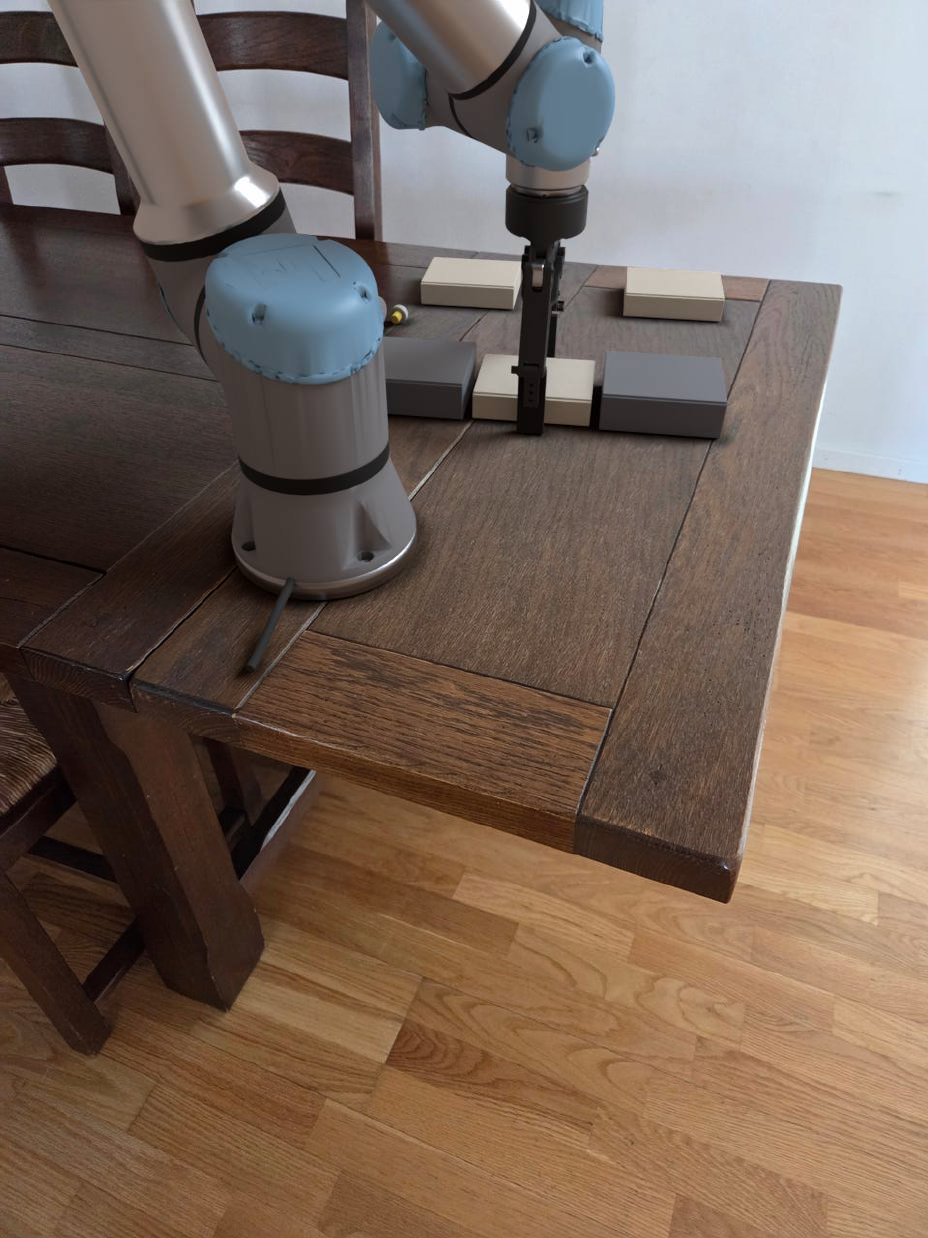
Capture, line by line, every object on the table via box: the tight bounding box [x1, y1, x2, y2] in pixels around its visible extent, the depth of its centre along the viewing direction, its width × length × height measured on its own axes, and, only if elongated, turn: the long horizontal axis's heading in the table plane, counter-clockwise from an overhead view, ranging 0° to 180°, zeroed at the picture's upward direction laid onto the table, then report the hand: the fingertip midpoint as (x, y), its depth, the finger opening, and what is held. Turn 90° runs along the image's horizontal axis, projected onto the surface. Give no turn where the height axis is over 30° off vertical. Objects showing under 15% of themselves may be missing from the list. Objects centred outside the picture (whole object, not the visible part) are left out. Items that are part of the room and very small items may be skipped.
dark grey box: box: [598, 350, 728, 439], centre depth 89 cm, size 10×12×4 cm
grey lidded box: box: [383, 335, 478, 420], centre depth 92 cm, size 10×12×4 cm
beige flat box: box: [471, 353, 596, 427], centre depth 90 cm, size 9×12×3 cm
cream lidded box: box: [622, 266, 726, 322], centre depth 110 cm, size 9×12×3 cm
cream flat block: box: [420, 256, 522, 310], centre depth 113 cm, size 9×12×3 cm
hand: (536, 400), depth 92 cm, fingers open, 13 cm apart
